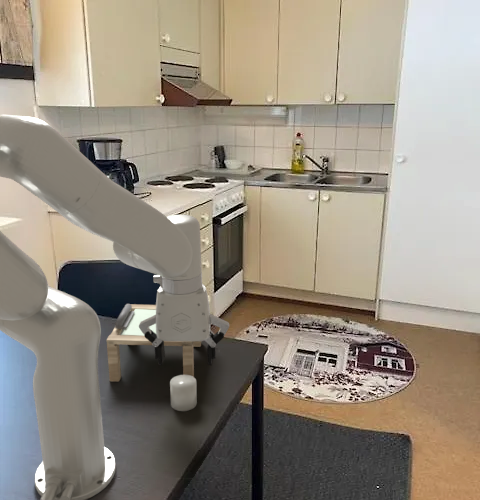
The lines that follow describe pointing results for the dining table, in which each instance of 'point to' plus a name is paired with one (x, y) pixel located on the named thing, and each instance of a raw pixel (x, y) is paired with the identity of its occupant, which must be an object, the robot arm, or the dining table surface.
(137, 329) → the trapdoor
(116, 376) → the trapdoor frame
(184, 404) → the stone
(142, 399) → the dining table surface
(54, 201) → the robot arm
